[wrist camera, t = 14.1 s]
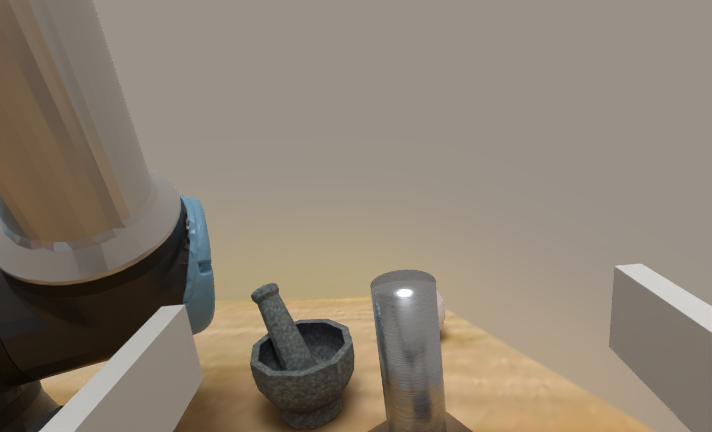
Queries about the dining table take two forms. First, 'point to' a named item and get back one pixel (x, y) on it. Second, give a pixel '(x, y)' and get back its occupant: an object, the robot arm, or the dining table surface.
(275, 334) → the mortar and pestle
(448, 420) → the wooden square tray
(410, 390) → the brushed metal peg
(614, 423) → the dining table surface
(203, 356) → the dining table surface
